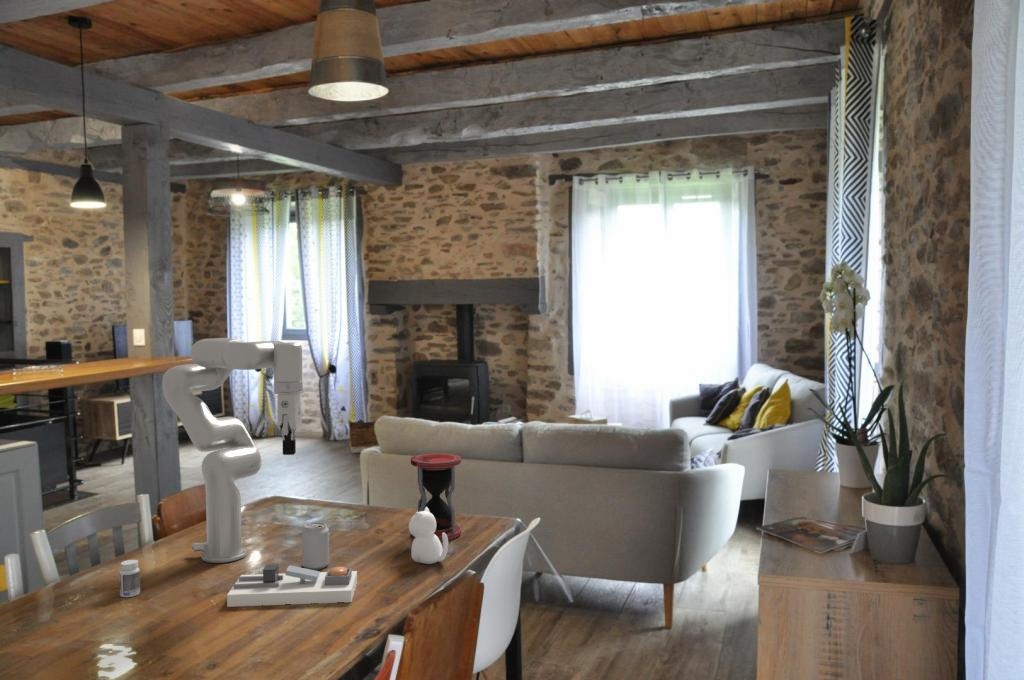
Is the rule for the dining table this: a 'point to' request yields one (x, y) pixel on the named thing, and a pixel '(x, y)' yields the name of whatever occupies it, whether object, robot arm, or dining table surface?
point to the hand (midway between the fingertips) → (289, 454)
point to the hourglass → (438, 490)
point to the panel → (292, 590)
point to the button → (338, 571)
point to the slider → (271, 573)
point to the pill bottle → (129, 578)
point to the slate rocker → (302, 573)
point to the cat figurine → (426, 539)
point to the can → (315, 545)
